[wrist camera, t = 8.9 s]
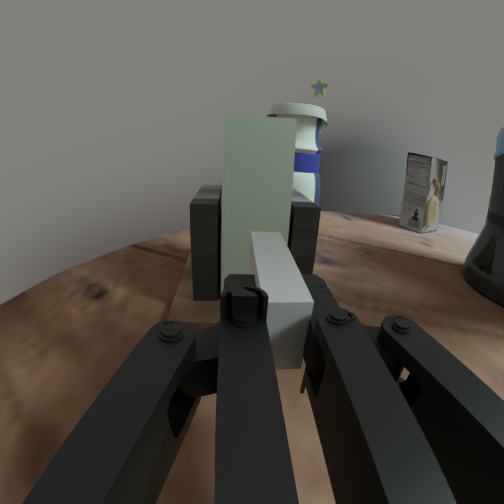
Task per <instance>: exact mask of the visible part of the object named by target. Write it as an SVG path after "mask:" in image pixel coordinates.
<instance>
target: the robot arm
mask: <svg viewBox="0 0 504 504" xmlns="http://www.w3.org/2000/svg"><path fill="white" fill-rule="evenodd" d="M494 159H495V170H494V177H493V184H492V191H491V197H490V203H489V208H488V214H487V219H486V223H485V226H484V228H483V230H482V231H481V233H480V235H479V237H478V238H477V240H476V242H475V243H474V245H473V247H472V248H471V250H470V252H469V253H468V255H467V257H466V260H465V263H464V267H463V270H462V273H463V275H464V277H465V279H466V280H467V281H468V282H469V283H470V284H471V285H472V286H473V287H474V288H475V289H477V290H478V291H479V292H481V293H482V294H484V295H485V296H487V297H488V298H490V299H492V300H494V301H496V302H498V303H500V304H502V305H504V127H503V128H501V129H500V131H499V132H498V135H497V145H496V153H495V155H494ZM303 357H304V361H305V364H306V368H305V372H304V376H303V380H302V384H301V388H300V394H301V393H304V390H305V386H306V388H307V392H308V396H309V400H310V404H311V407H312V411H313V415H314V419H315V423H316V426H317V430H318V434H319V438H320V442H321V446H322V450H323V454H324V458H325V462H326V466H327V470H328V474H329V478H330V482H331V486H332V490H333V494H334V498H335V502H336V504H504V401H503V400H502V399H501V398H500V397H499V396H498V395H497V394H496V393H495V392H494V391H493V390H492V389H490V388H489V387H488V386H487V385H486V384H485V383H484V382H483V381H482V380H481V379H480V378H478V377H477V376H476V375H475V374H474V373H473V372H472V371H471V370H470V369H468V368H467V367H466V366H465V365H464V364H463V363H462V362H460V361H459V360H458V359H457V358H456V357H455V356H454V355H452V354H451V353H450V352H449V351H448V350H447V349H445V348H444V347H443V346H442V345H441V344H440V343H438V342H437V341H436V340H435V339H434V338H433V337H431V336H430V335H429V334H428V333H427V332H425V331H424V330H423V329H422V328H421V327H419V326H418V325H417V324H416V323H414V322H413V321H411V320H410V319H408V318H405V317H403V316H388V317H386V318H384V320H383V322H382V325H381V327H373V326H366V325H362V324H361V323H360V321H359V320H358V318H357V317H356V316H355V315H354V314H353V313H352V312H350V311H348V310H346V309H342V308H340V307H339V305H338V304H337V302H336V300H335V299H334V297H333V295H332V293H330V290H329V288H327V285H326V283H325V282H324V280H323V279H321V278H320V277H319V276H317V275H316V274H301V273H300V271H299V269H298V267H297V265H296V263H295V261H294V259H293V257H292V255H291V253H290V250H289V248H288V246H287V244H286V242H285V240H284V238H283V236H282V234H281V232H255V231H251V234H250V254H249V274H229V275H228V276H227V277H226V278H225V279H224V288H223V291H222V293H221V295H220V321H219V322H218V323H217V324H216V325H214V326H212V327H210V328H208V329H204V330H199V331H194V329H193V327H192V326H190V325H189V324H188V323H185V322H182V321H176V320H169V321H163V322H160V323H158V324H155V325H154V326H153V327H152V328H151V329H150V330H149V331H148V332H147V333H146V335H145V336H144V337H143V338H142V340H141V341H140V342H139V343H138V345H137V346H136V347H135V349H134V350H133V351H132V352H131V354H130V355H129V356H128V357H127V359H126V360H125V361H124V363H123V364H122V365H121V367H120V368H119V369H118V370H117V372H116V373H115V374H114V376H113V377H112V378H111V380H110V381H109V382H108V383H107V385H106V386H105V387H104V389H103V390H102V391H101V393H100V394H99V395H98V397H97V398H96V399H95V401H94V402H93V403H92V405H91V406H90V407H89V409H88V410H87V411H86V413H85V414H84V416H83V417H82V418H81V420H80V421H79V422H78V424H77V425H76V426H75V428H74V429H73V431H72V432H71V433H70V435H69V436H68V438H67V439H66V440H65V442H64V443H63V445H62V446H61V447H60V449H59V450H58V452H57V453H56V454H55V456H54V457H53V459H52V460H51V462H50V463H49V465H48V466H47V467H46V469H45V470H44V472H43V473H42V475H41V476H40V478H39V479H38V481H37V482H36V484H35V485H34V487H33V488H32V490H31V491H30V493H29V494H28V496H27V497H26V499H25V500H24V502H23V504H155V503H156V501H157V499H158V497H159V494H160V492H161V490H162V488H163V485H164V483H165V481H166V478H167V476H168V474H169V472H170V469H171V467H172V465H173V462H174V460H175V458H176V456H177V453H178V451H179V449H180V446H181V444H182V442H183V439H184V437H185V435H186V433H187V430H188V428H189V426H190V423H191V421H192V419H193V416H194V414H195V412H196V409H197V407H198V405H199V402H200V400H201V396H205V395H210V394H214V393H217V402H216V434H215V504H299V502H298V496H297V490H296V485H295V479H294V473H293V468H292V462H291V456H290V451H289V445H288V439H287V433H286V428H285V422H284V416H283V411H282V405H281V400H280V394H279V388H278V383H277V377H276V371H275V369H296V368H301V365H302V360H303ZM404 367H405V368H406V369H407V370H408V371H409V372H410V374H409V375H408V377H407V379H406V380H404V379H403V378H401V377H400V375H401V373H402V371H403V369H404Z"/></svg>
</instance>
